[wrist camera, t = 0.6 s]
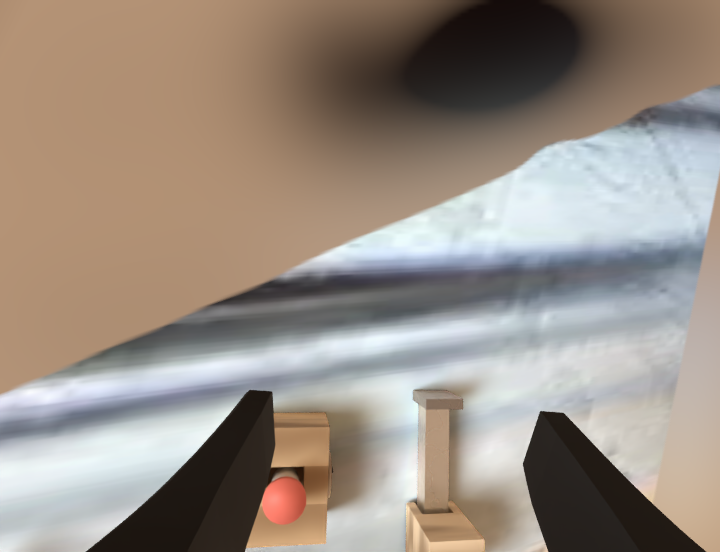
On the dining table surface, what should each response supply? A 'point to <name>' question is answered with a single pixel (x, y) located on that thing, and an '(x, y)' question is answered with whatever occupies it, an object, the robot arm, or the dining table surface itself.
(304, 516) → the wooden box with dial
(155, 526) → the robot arm
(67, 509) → the dining table surface
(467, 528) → the block
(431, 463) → the rail
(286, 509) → the plunger
